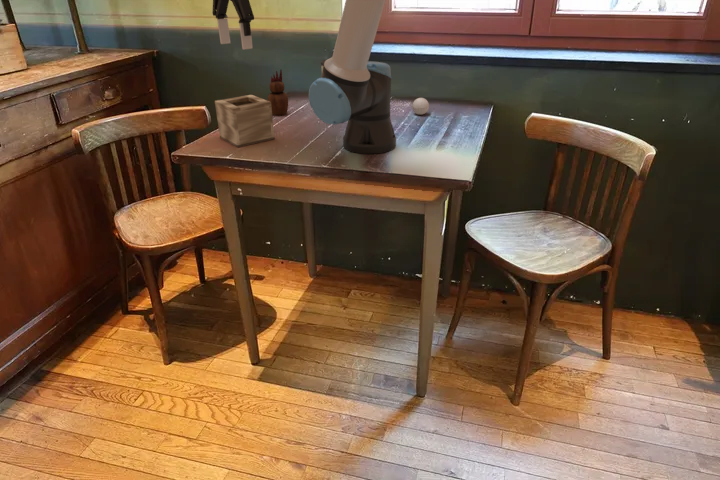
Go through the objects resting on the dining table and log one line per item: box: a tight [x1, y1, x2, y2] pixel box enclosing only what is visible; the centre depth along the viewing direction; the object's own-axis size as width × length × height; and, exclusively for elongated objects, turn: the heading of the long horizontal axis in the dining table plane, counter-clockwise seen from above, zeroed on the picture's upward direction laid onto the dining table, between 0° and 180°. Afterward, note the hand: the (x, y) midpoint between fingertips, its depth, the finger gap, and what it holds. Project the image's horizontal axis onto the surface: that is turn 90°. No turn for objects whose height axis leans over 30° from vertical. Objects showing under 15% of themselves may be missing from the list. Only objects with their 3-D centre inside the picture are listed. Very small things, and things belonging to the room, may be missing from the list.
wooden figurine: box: [267, 69, 289, 116], centre depth 174 cm, size 7×6×15 cm
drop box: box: [214, 94, 275, 148], centre depth 152 cm, size 12×12×11 cm
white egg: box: [411, 97, 430, 116], centre depth 173 cm, size 8×6×6 cm
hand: (236, 46), depth 142 cm, fingers open, 13 cm apart
